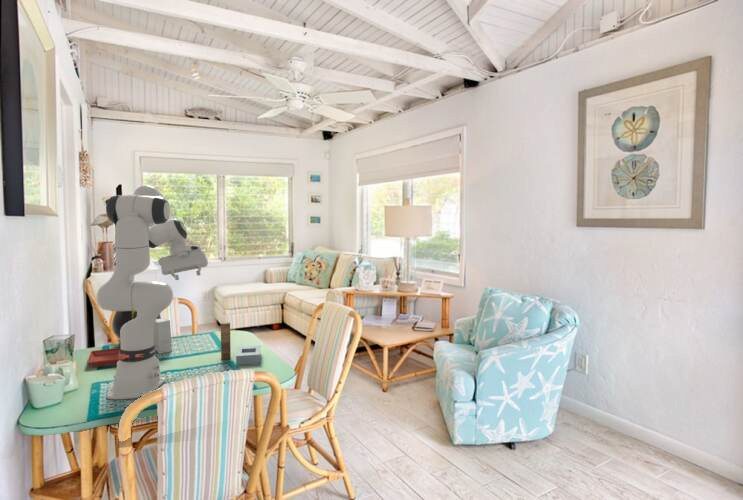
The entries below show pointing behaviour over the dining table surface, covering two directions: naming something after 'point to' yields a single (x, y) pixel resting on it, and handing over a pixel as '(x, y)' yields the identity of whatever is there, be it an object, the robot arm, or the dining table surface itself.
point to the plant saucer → (103, 357)
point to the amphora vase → (123, 321)
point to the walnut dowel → (225, 341)
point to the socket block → (248, 355)
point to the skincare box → (162, 336)
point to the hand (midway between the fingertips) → (188, 276)
